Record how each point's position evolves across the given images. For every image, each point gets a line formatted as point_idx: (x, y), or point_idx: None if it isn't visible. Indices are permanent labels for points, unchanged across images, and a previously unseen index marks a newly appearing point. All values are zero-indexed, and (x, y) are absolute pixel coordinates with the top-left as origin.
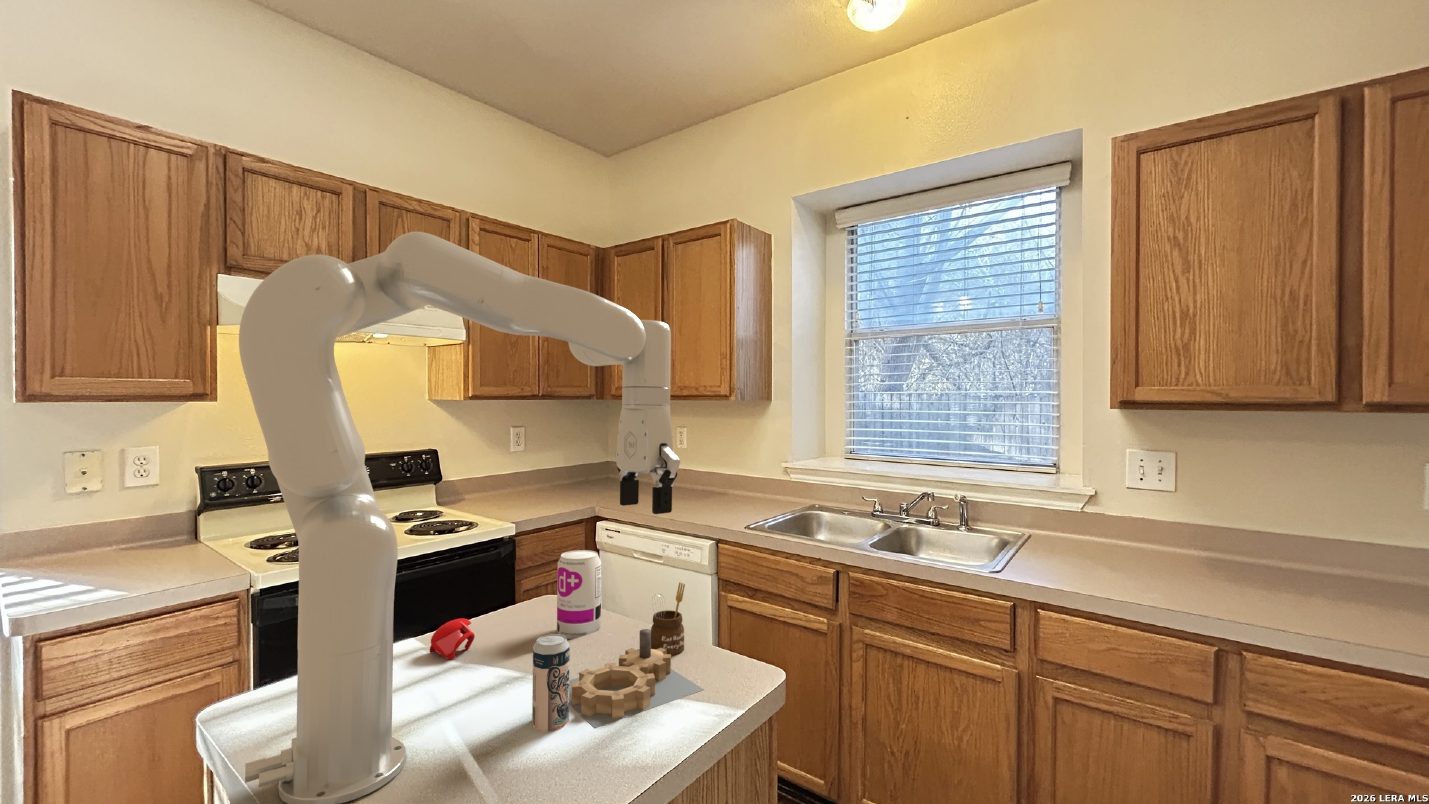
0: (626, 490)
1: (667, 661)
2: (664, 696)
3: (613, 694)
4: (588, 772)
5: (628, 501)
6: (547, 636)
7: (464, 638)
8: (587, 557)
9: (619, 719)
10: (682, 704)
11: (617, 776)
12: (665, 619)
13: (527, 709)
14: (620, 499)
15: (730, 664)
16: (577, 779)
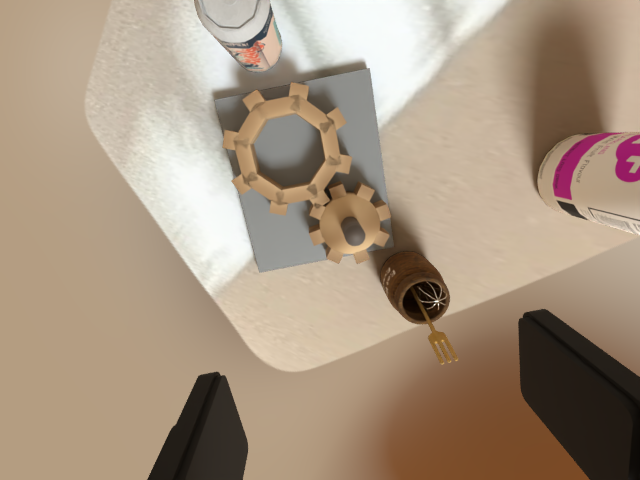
0: (576, 388)
1: (328, 252)
2: (262, 217)
3: (240, 136)
4: (136, 69)
5: (528, 355)
6: None
7: None
8: None
9: None
10: None
11: (117, 101)
12: (404, 290)
13: (330, 24)
14: (555, 323)
15: (332, 337)
16: (125, 51)
